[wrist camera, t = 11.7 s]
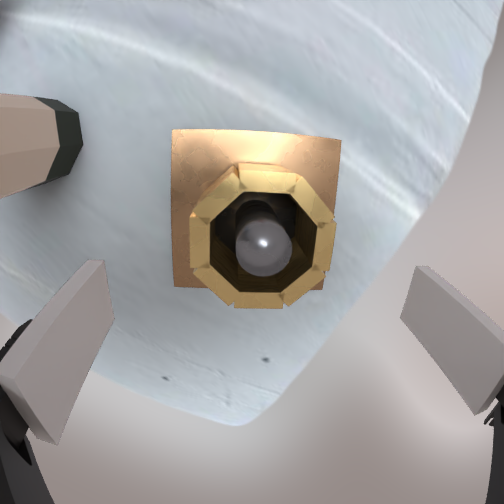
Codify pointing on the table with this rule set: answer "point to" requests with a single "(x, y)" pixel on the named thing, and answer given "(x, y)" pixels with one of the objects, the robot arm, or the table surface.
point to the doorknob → (246, 194)
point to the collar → (303, 243)
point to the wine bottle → (35, 141)
